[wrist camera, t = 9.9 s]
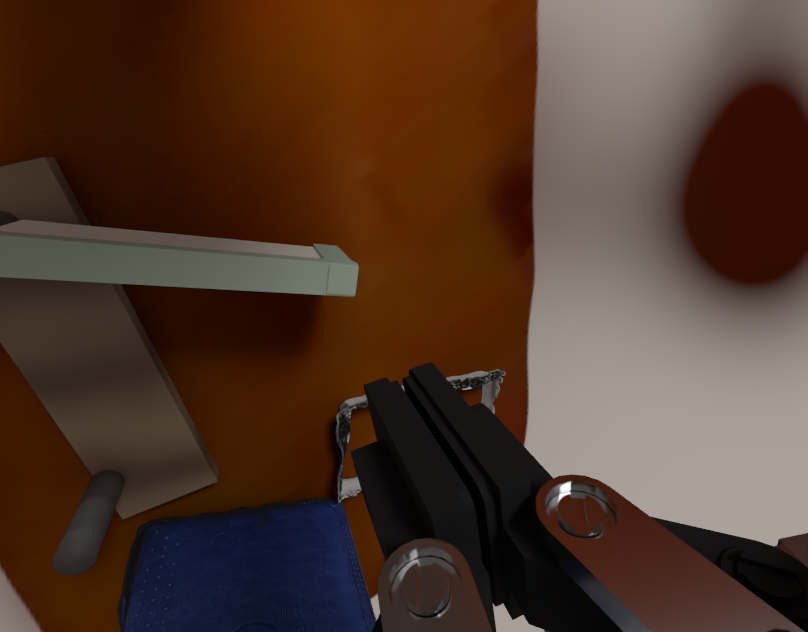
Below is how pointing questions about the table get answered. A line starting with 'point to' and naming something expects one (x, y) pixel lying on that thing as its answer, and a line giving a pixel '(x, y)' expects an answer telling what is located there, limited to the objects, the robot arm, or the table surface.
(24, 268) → the panel
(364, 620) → the book
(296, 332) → the table surface
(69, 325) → the gate frame
